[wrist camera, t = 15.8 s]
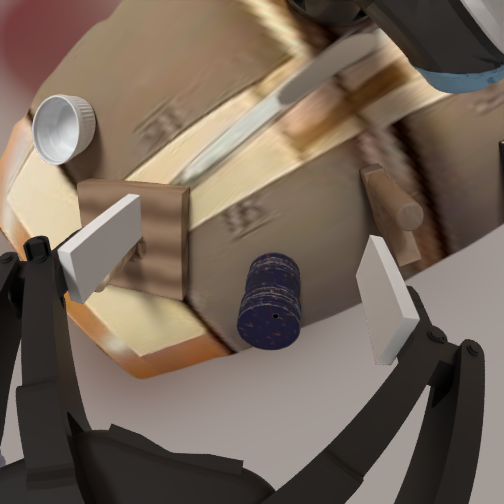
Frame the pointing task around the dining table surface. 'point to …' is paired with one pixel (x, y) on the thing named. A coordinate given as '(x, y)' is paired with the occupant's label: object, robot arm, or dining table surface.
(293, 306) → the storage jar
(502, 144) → the ammunition clip
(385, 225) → the wooden peg block
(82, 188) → the walnut board
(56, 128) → the ramekin
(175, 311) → the dining table surface
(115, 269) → the beech leg
